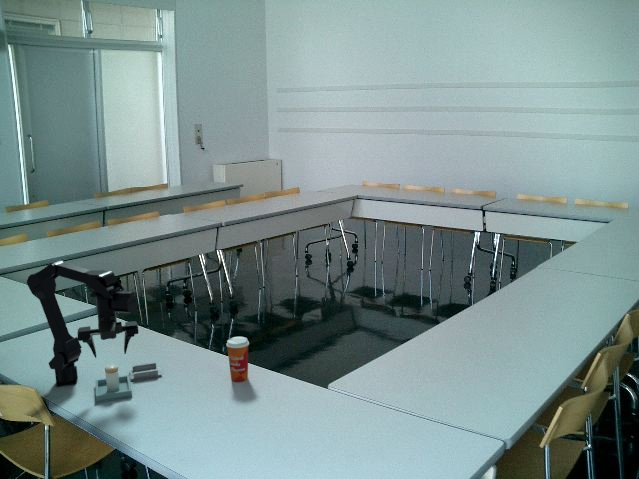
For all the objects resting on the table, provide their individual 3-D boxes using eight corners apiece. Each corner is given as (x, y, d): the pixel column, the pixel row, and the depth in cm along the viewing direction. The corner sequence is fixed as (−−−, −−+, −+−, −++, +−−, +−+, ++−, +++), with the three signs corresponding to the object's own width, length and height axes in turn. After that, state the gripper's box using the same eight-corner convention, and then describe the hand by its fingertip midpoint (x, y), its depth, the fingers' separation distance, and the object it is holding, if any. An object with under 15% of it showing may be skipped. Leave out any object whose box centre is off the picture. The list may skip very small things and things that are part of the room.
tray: (96, 402, 206) (95, 396, 205) (95, 386, 218) (95, 380, 217) (132, 396, 209) (131, 390, 209) (129, 380, 221) (129, 374, 221)
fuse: (107, 393, 211) (104, 370, 209) (106, 388, 214) (104, 365, 213) (120, 391, 212) (118, 368, 210) (119, 386, 216) (117, 363, 214)
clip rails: (130, 381, 221) (130, 374, 220) (129, 372, 228) (128, 365, 228) (161, 376, 224) (161, 369, 224) (159, 368, 231) (158, 361, 231)
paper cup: (223, 381, 219) (221, 342, 217) (236, 372, 226) (234, 334, 223) (242, 385, 216) (240, 345, 213) (255, 376, 223) (253, 338, 220)
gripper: (75, 321, 199) (79, 368, 203) (137, 314, 205) (141, 360, 208) (76, 310, 210) (80, 355, 213) (135, 304, 215) (139, 348, 219)
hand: (110, 355), depth 213 cm, fingers open, 9 cm apart
